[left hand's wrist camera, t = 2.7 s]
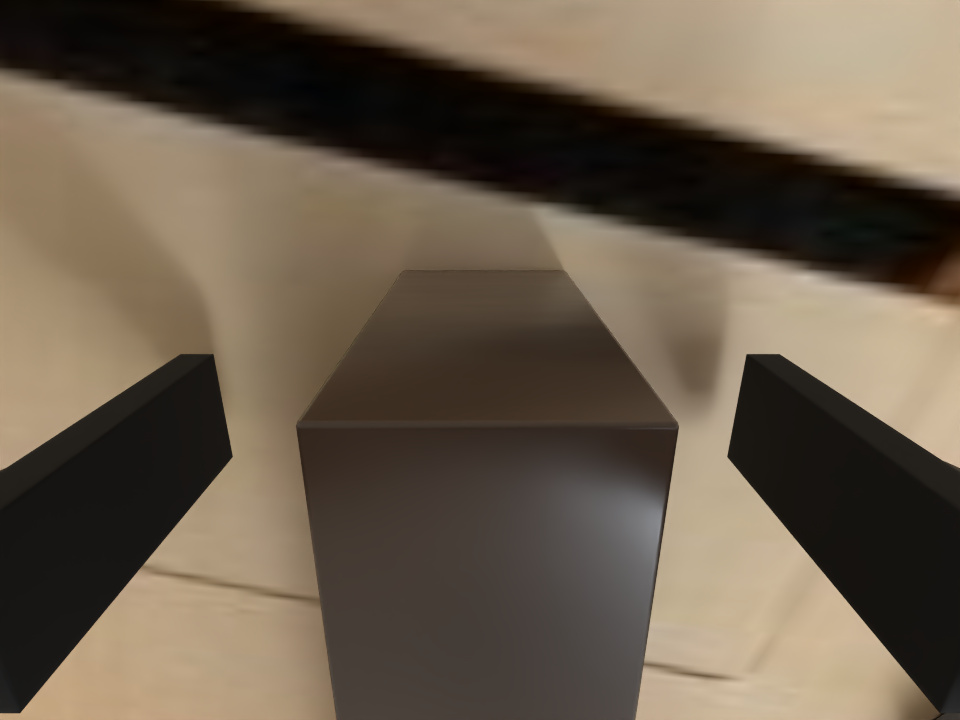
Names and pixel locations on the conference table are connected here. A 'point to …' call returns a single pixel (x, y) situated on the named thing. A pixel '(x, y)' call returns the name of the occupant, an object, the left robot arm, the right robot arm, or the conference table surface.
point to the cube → (949, 716)
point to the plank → (486, 505)
